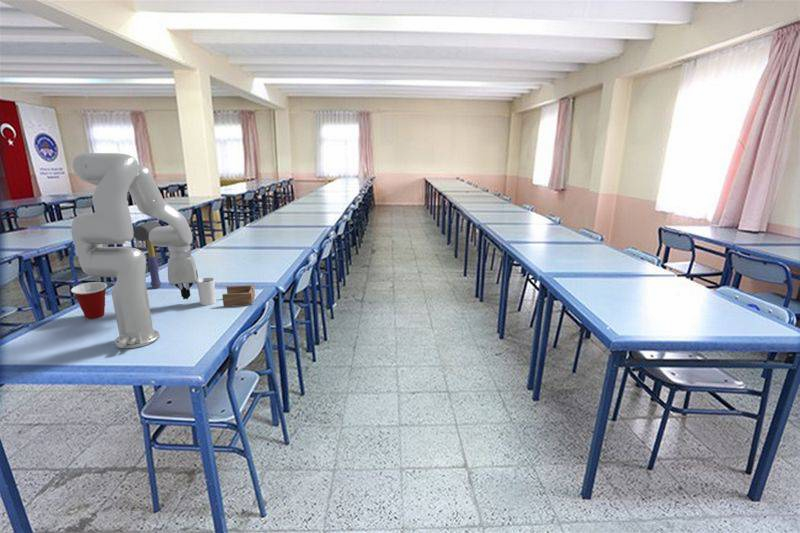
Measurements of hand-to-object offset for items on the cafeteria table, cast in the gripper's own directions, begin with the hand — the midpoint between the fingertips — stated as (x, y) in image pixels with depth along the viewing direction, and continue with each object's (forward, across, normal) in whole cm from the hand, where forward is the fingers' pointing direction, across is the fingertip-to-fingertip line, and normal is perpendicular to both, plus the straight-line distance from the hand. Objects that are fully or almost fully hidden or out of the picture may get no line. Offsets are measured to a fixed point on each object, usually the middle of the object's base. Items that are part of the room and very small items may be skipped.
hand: (186, 298), depth 168 cm
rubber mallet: (+3, -19, +25) cm, 32 cm away
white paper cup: (+3, +8, 0) cm, 9 cm away
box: (+3, +20, 0) cm, 21 cm away
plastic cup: (+3, -30, -8) cm, 31 cm away
